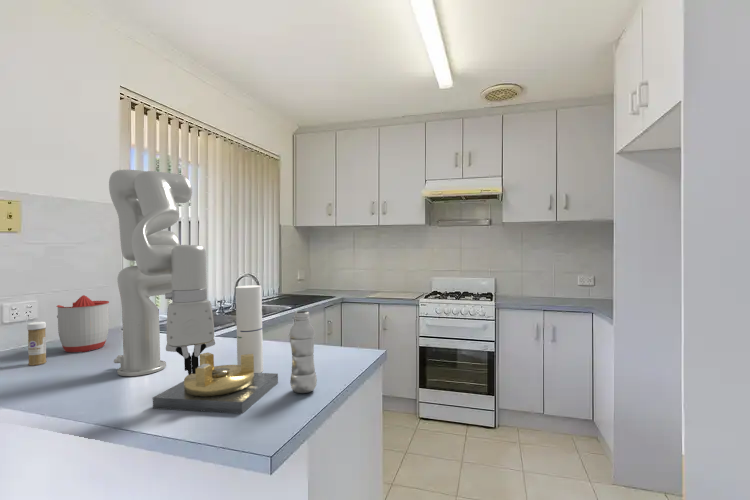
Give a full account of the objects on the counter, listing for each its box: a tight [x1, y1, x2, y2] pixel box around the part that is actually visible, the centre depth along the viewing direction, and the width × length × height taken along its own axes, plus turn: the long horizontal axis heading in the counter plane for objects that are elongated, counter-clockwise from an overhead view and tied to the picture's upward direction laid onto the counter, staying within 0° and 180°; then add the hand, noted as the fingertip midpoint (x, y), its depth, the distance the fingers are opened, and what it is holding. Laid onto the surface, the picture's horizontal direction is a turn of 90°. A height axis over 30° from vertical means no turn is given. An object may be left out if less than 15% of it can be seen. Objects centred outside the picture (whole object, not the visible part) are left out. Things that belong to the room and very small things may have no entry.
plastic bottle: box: [288, 310, 318, 394], centre depth 97 cm, size 6×7×20 cm
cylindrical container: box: [235, 284, 264, 373], centre depth 113 cm, size 7×7×25 cm
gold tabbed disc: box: [183, 352, 254, 396], centre depth 96 cm, size 16×16×6 cm
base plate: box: [152, 372, 279, 414], centre depth 96 cm, size 22×19×3 cm
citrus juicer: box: [56, 294, 110, 353], centre depth 143 cm, size 16×17×20 cm
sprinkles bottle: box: [26, 321, 48, 366], centre depth 125 cm, size 5×5×14 cm
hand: (191, 372), depth 93 cm, fingers closed
